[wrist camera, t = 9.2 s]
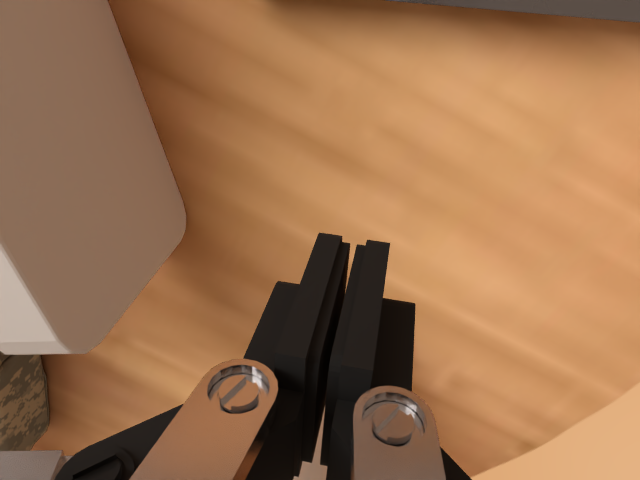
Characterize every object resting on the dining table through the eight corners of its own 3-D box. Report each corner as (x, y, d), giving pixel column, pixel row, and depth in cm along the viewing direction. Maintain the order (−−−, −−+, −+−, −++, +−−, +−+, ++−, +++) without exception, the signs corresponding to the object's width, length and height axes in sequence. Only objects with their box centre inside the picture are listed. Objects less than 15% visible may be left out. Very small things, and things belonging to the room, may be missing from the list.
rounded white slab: (-44, -128, 34) (-419, -168, 19) (49, -160, 32) (-289, -233, 17) (122, 233, 48) (-19, 373, 33) (193, 226, 46) (78, 373, 31)
